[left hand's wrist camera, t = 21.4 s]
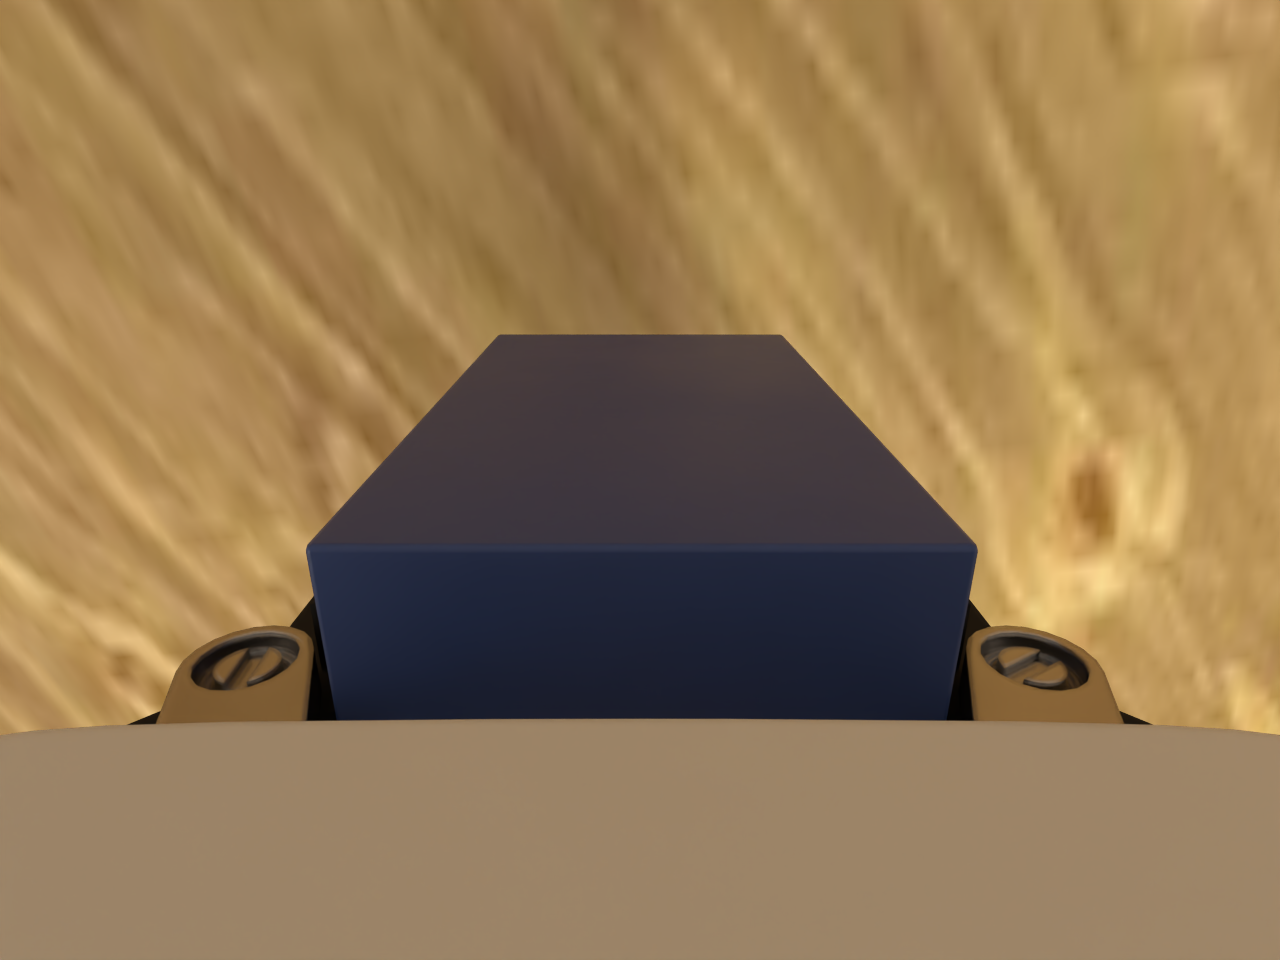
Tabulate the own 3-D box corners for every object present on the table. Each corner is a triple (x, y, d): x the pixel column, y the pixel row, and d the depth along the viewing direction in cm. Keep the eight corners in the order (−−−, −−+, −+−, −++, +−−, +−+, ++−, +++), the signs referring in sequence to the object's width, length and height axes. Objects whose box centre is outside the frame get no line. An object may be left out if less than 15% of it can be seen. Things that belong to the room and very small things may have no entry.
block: (764, 588, 16) (894, 1010, 8) (515, 588, 16) (386, 1010, 8) (783, 333, 14) (981, 546, 6) (497, 334, 14) (301, 545, 6)
